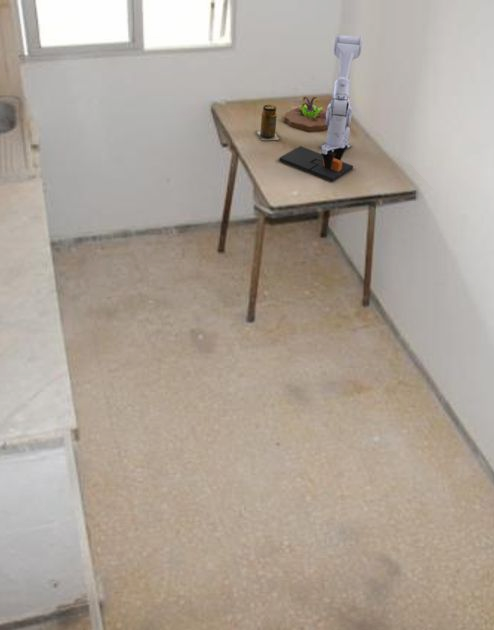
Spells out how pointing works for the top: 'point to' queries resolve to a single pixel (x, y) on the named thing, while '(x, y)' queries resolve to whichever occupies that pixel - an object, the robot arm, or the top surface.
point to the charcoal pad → (331, 169)
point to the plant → (307, 117)
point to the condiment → (268, 123)
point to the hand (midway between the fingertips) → (332, 165)
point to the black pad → (301, 158)
